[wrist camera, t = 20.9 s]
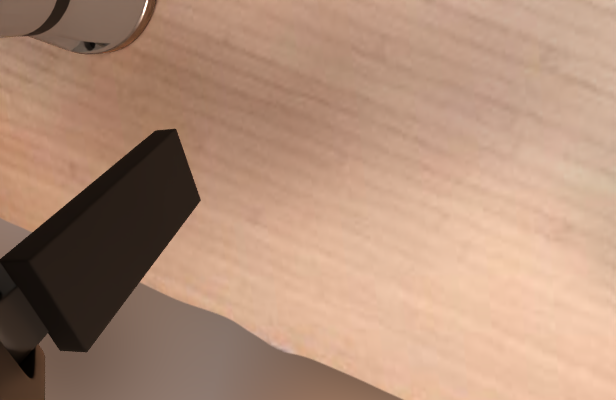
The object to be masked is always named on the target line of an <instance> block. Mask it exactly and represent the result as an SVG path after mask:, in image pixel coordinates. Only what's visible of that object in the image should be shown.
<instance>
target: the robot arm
mask: <svg viewBox="0 0 616 400" xmlns="http://www.w3.org/2000/svg"><path fill="white" fill-rule="evenodd" d="M155 2H156V0H0V37H16V36H29V37H32V38H35V39H38V40H40V41H43V42H46V43H49V44H51V45H54V46H57V47H60V48H62V49H65V50H68V51H72V52H76V53H81V54H99V53H108V52H113V51H116V50H119V49H122V48H123V47H125V46H127V45H129V44H130V43H131V42H133V41H134V40H135V39H136V38H137V37H138V36H139V35H140V34H141V32H142V31H143V30H144V28H145V27H146V25H147V23H148V21H149V20H150V17H151V15H152V12H153V9H154V6H155ZM200 201H201V199H200V196H199V194H198V191H197V188H196V185H195V182H194V179H193V176H192V173H191V171H190V168H189V165H188V162H187V159H186V156H185V153H184V150H183V147H182V145H181V142H180V139H179V136H178V133H177V130H176V129H167V130H156V131H154V132H153V133H152V134H151V135H149V136H148V137H147V138H146V139H145V140H143V141H142V142H141V143H140V144H139V145H137V146H136V147H135V148H134V149H133V150H131V151H130V152H129V153H128V154H127V155H125V156H124V157H123V158H122V159H121V160H119V161H118V162H117V163H116V164H115V165H113V166H112V167H111V168H110V169H108V170H107V171H106V172H105V173H104V174H102V175H101V176H100V177H99V178H98V179H96V180H95V181H94V182H93V183H92V184H90V185H89V186H88V187H87V188H86V189H84V190H83V191H82V192H81V193H80V194H78V195H77V196H76V197H75V198H73V199H72V200H71V201H70V202H69V203H67V204H66V205H65V206H64V207H63V208H61V209H60V210H59V211H58V212H57V213H55V214H54V215H53V216H52V217H51V218H49V219H48V220H47V221H46V222H45V223H43V224H42V225H41V226H40V227H38V228H37V229H36V230H35V231H34V232H32V233H31V234H30V235H29V236H28V237H26V238H25V239H24V240H23V241H22V242H21V243H19V244H18V245H17V246H16V247H14V248H13V249H12V250H11V251H10V252H8V253H7V254H6V255H5V256H3V257H2V258H1V259H0V400H45V355H44V352H43V350H42V349H41V348H40V346H39V342H40V341H41V340H42V339H43V338H44V337H45V336H46V334H47V333H48V334H49V335H50V336H51V338H52V339H53V341H54V342H55V344H56V345H57V347H58V348H59V350H60V351H75V352H88V350H89V349H90V348H91V346H92V345H93V343H94V342H95V341H96V340H97V338H98V337H99V335H100V334H101V333H102V332H103V330H104V329H105V328H106V326H107V325H108V323H109V322H110V321H111V319H112V318H113V317H114V315H115V314H116V313H117V311H118V310H119V309H120V307H121V306H122V305H123V303H124V302H125V301H126V299H127V298H128V297H129V295H130V294H131V293H132V291H133V290H134V289H135V287H136V286H137V285H138V283H139V282H140V281H141V279H142V278H143V277H144V275H145V274H146V273H147V271H148V270H149V269H150V267H151V266H152V265H153V263H154V262H155V261H156V259H157V258H158V257H159V255H160V254H161V253H162V251H163V250H164V249H165V247H166V246H167V245H168V243H169V242H170V241H171V239H172V238H173V237H174V235H175V234H176V233H177V231H178V230H179V229H180V227H181V226H182V225H183V223H184V222H185V221H186V219H187V218H188V217H189V215H190V214H191V213H192V211H193V210H194V209H195V207H196V206H197V205H198V203H199V202H200Z"/></svg>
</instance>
